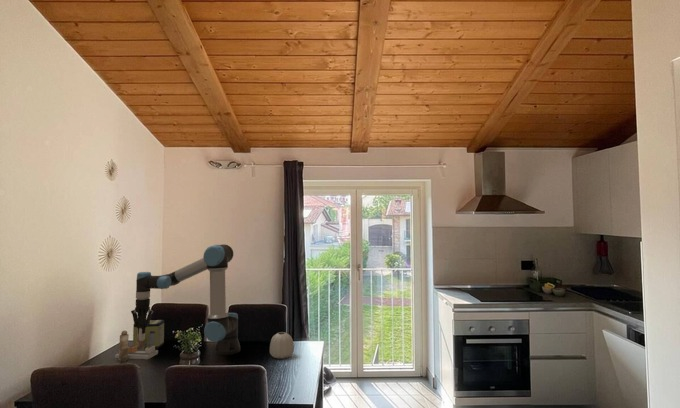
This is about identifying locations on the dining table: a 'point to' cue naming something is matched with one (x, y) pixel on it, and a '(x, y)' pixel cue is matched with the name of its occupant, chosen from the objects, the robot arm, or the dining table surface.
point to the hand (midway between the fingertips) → (141, 339)
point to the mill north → (123, 346)
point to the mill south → (140, 342)
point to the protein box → (152, 334)
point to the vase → (281, 345)
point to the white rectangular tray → (140, 354)
